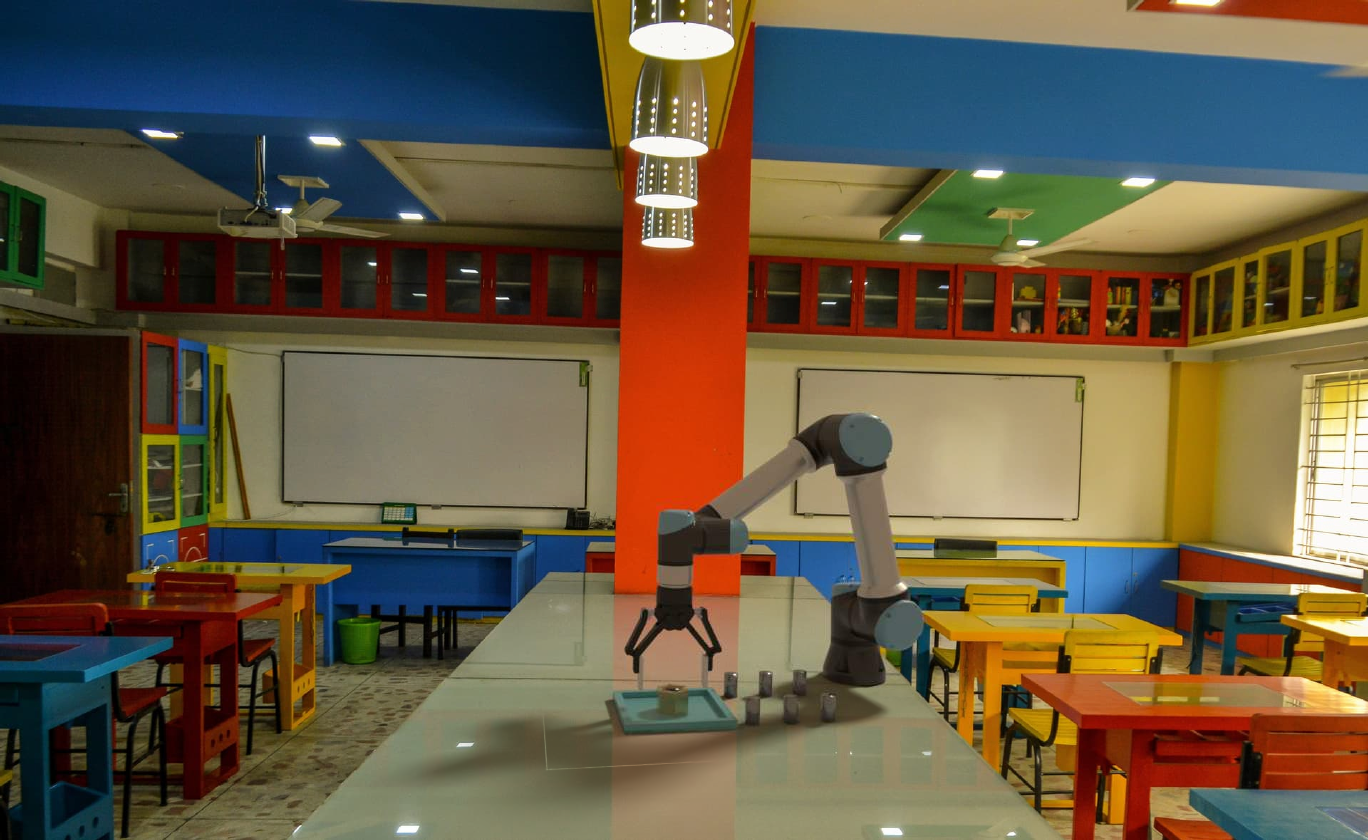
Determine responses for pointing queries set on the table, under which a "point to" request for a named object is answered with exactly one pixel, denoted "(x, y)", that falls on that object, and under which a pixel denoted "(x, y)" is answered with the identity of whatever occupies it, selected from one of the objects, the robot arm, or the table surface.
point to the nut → (672, 699)
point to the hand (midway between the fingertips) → (672, 688)
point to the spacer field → (788, 700)
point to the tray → (644, 717)
